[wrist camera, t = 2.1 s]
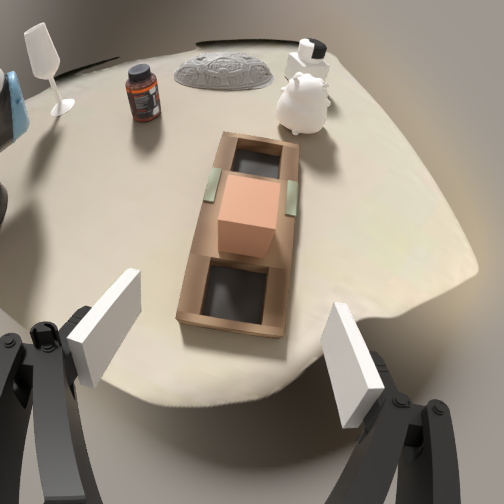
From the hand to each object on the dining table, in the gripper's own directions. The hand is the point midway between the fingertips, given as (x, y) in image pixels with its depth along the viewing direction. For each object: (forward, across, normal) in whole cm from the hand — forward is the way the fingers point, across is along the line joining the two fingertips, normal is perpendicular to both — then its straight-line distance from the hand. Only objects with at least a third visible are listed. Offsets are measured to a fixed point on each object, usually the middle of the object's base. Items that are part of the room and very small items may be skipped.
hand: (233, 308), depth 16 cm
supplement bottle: (+43, -24, +12) cm, 50 cm away
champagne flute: (+45, -48, +15) cm, 68 cm away
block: (+23, 0, -3) cm, 23 cm away
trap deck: (+27, 0, -3) cm, 27 cm away
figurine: (+44, +6, +14) cm, 47 cm away
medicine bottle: (+57, +8, +27) cm, 63 cm away
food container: (+56, -11, +25) cm, 62 cm away
